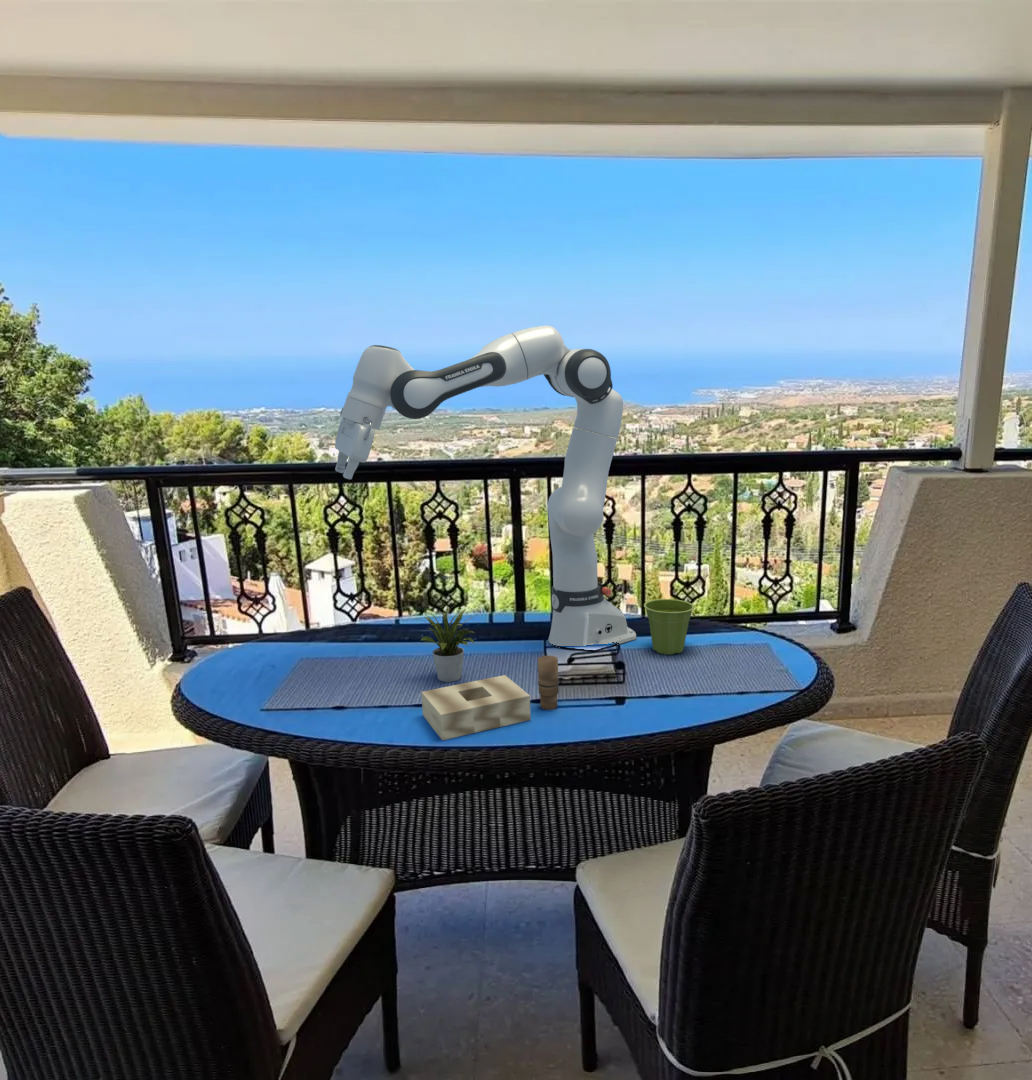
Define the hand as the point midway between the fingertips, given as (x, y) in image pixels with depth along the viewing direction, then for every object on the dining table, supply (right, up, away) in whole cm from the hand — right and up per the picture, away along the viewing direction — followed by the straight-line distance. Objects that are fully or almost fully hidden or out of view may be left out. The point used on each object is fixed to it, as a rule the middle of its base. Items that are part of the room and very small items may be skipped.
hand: (342, 475), depth 163 cm
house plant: (+23, -46, 0) cm, 51 cm away
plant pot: (+76, -41, +14) cm, 87 cm away
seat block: (+31, -49, -20) cm, 62 cm away
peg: (+45, -48, -16) cm, 68 cm away
